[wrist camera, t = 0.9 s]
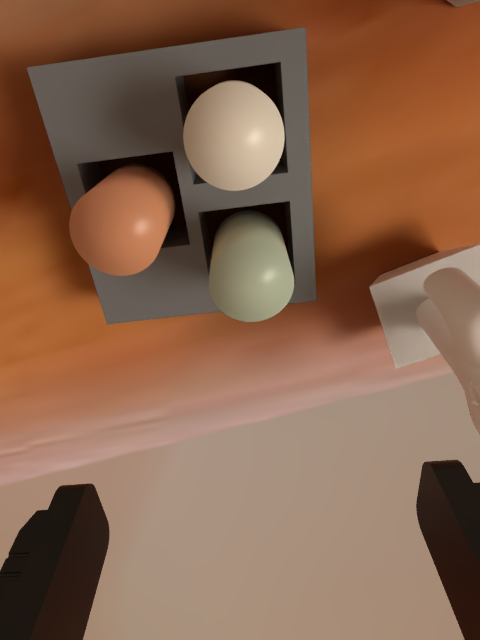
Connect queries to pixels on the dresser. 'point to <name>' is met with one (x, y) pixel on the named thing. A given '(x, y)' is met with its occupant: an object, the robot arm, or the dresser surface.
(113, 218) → the brown egg
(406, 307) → the figurine
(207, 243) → the grey square tray
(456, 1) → the supplement box
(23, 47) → the dresser surface
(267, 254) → the green egg
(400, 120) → the dresser surface
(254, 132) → the white egg
